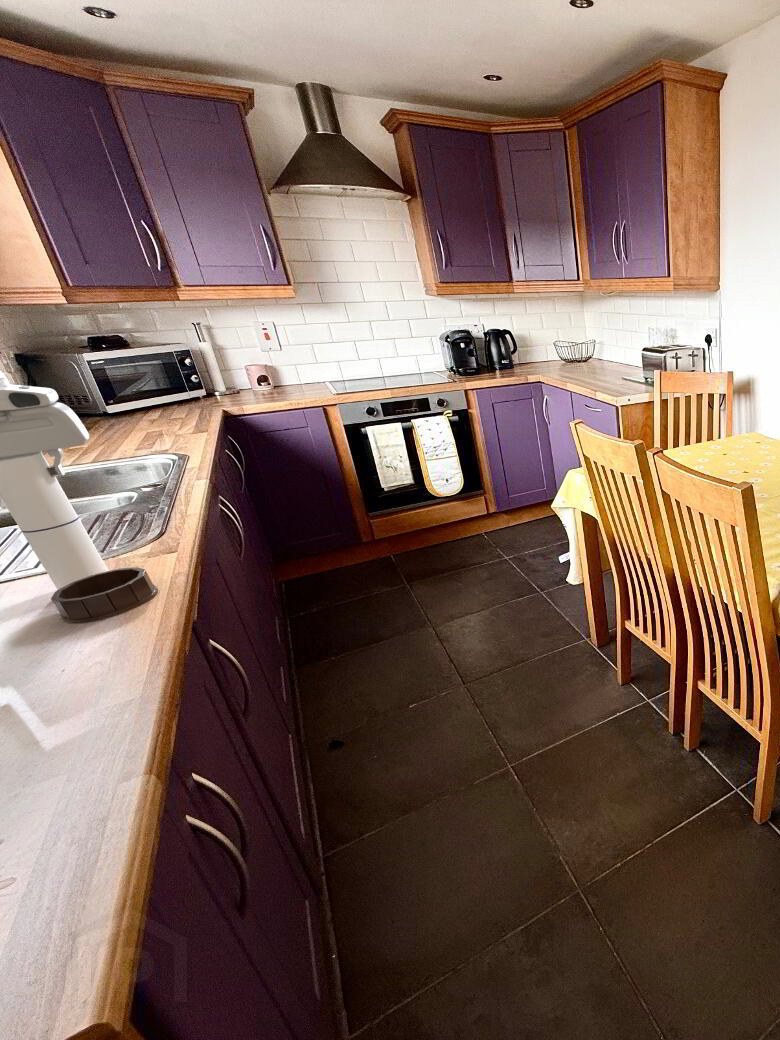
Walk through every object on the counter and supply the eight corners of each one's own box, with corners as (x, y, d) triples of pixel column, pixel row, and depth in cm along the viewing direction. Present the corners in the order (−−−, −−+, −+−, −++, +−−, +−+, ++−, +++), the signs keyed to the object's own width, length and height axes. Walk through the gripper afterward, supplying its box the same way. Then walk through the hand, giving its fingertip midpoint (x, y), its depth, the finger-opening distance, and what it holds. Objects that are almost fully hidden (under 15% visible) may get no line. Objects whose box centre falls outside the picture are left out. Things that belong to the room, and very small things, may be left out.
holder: (53, 632, 94) (39, 610, 92) (70, 602, 103) (58, 582, 101) (154, 605, 100) (142, 584, 99) (161, 579, 110) (151, 559, 108)
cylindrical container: (66, 598, 104) (-16, 465, 94) (54, 589, 108) (-26, 460, 97) (118, 581, 110) (46, 453, 99) (105, 573, 113) (35, 448, 103)
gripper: (-134, 415, 86) (-74, 502, 92) (59, 392, 97) (101, 471, 103) (-114, 409, 91) (-59, 491, 97) (67, 388, 101) (107, 464, 107)
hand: (25, 481), depth 100 cm, fingers closed on cylindrical container, 7 cm apart
